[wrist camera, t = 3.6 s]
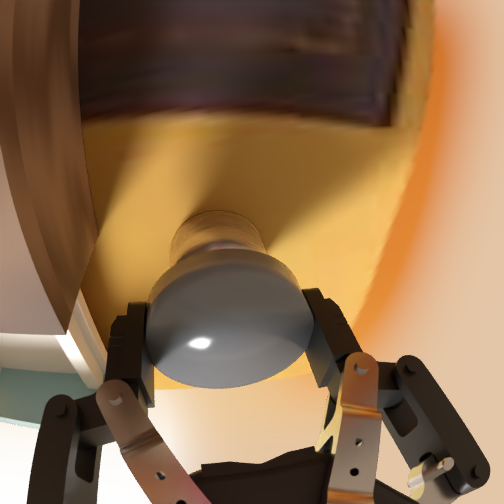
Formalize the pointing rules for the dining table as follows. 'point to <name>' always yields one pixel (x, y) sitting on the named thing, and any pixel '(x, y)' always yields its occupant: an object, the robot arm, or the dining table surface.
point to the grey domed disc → (226, 319)
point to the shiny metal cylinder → (214, 235)
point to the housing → (41, 168)
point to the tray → (49, 367)
